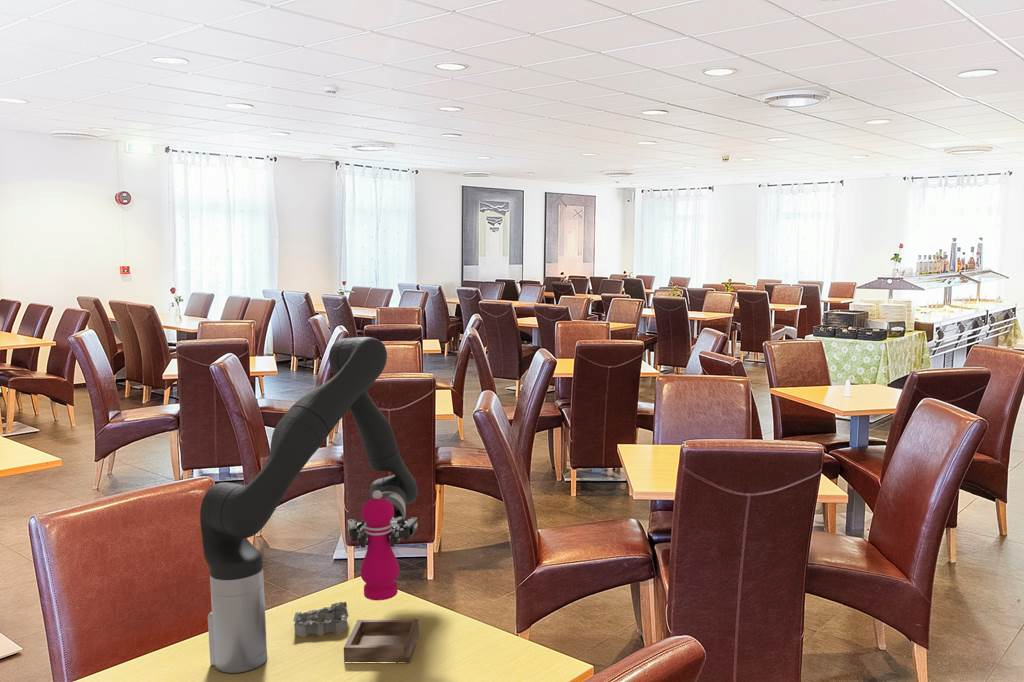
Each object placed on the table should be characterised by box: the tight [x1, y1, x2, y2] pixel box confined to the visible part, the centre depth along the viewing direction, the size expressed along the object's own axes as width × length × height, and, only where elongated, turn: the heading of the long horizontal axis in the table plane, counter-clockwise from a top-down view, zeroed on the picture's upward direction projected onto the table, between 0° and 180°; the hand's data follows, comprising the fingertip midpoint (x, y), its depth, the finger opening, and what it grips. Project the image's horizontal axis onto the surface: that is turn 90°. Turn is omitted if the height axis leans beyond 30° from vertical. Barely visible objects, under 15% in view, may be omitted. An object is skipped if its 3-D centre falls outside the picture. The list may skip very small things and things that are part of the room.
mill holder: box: [343, 618, 420, 664], centre depth 160 cm, size 12×12×3 cm
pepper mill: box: [360, 490, 400, 601], centre depth 158 cm, size 7×7×20 cm
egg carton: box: [293, 601, 349, 638], centre depth 169 cm, size 11×8×4 cm
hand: (377, 541), depth 155 cm, fingers closed on pepper mill, 4 cm apart
